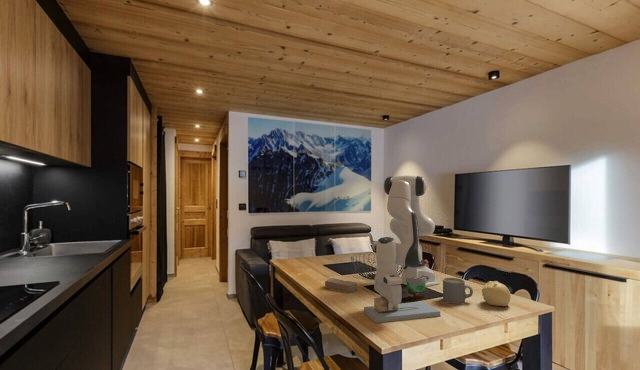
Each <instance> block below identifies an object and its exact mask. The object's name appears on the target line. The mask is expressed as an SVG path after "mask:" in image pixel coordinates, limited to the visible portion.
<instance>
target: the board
mask: <svg viewBox="0 0 640 370" xmlns="http://www.w3.org/2000/svg"><path fill="white" fill-rule="evenodd" d="M363 312H364V313H365V314H366V315H367V316H368V317H369V318H370V319H371V320H372V321H373V322H374V323H375V324H377V323H388V322H398V321H407V320H415V319H416V320H417V319H424V318H425V319H426V318H434V317H435V318H436V317H441V310H438V309H437V308H436V307H434V306H432V305H431V304H429V303H427V302H425V301H423V300H422V301H415V302H413V301H412V302H405V303H404V302H402V303H401V302H400V303H399V304H398V311H395V312H385V313H378V312H377V311H376V310H375V309H374V305H372V306H370V305H369V306H363Z"/></svg>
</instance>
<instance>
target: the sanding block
mask: <svg viewBox="0 0 640 370" xmlns="http://www.w3.org/2000/svg"><path fill="white" fill-rule="evenodd" d="M373 299H374V302H373V306H374V309H375V310H376V311H377V312H378V313H385V312H395V311H398V304H393V309H392V310H388V309H387V305H388V303H389V302H388V300H387V299H386V298H385V297H380V296H379V297H374V298H373Z"/></svg>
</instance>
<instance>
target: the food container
mask: <svg viewBox="0 0 640 370" xmlns="http://www.w3.org/2000/svg"><path fill="white" fill-rule="evenodd" d="M406 282H407V285H406V290H407V297H408V298H409V299H417V300H418V299H424V298H425V295H426V286H425V284H426V282H427V278H426V276H424V275H422V277H414V278H407V277H406Z"/></svg>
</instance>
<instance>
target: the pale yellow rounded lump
mask: <svg viewBox="0 0 640 370" xmlns="http://www.w3.org/2000/svg"><path fill="white" fill-rule="evenodd" d="M481 295H482V298H483V300H484V301H485V302H486V303H487V304H488V305H489V306H495V307H498V306H499V307H506V306H508V305H509V303H510V301H511V291H510V290H509V288H508V287H507V286H506V285H505V284H503V283H502V282H499V281H498V280H494V281H491V280H490V281H489V280H488V282H486V283H485V284H484V285H483V286H482V288H481Z"/></svg>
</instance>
